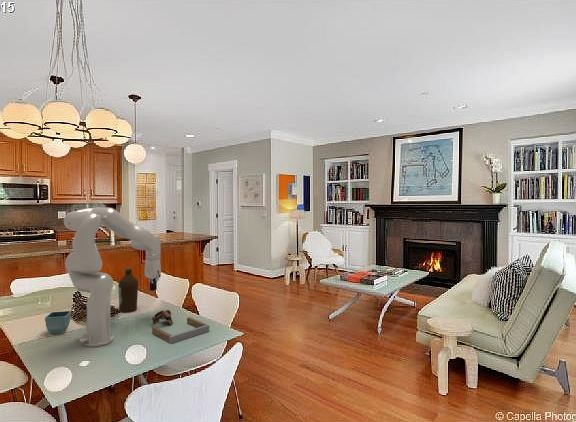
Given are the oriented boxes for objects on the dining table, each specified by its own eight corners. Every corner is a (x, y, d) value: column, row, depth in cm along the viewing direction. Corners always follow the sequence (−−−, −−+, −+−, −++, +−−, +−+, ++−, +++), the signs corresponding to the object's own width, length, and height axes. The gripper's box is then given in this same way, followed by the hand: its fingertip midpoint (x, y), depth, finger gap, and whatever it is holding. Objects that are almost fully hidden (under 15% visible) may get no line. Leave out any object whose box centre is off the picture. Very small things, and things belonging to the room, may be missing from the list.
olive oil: (137, 306, 210) (137, 265, 209) (138, 311, 200) (138, 269, 200) (118, 308, 205) (118, 266, 204) (118, 314, 196) (118, 270, 195)
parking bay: (170, 343, 157) (171, 337, 157) (151, 333, 169) (152, 327, 169) (209, 331, 173) (209, 325, 173) (189, 322, 185) (189, 317, 185)
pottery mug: (170, 328, 177) (161, 316, 175) (155, 335, 179) (146, 322, 177) (178, 315, 188) (171, 303, 186) (164, 321, 190) (156, 309, 188)
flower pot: (44, 336, 162) (44, 317, 162) (51, 329, 171) (51, 311, 170) (65, 335, 164) (65, 316, 164) (71, 328, 173) (71, 310, 173)
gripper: (140, 256, 191) (140, 288, 192) (153, 259, 181) (153, 294, 182) (152, 254, 197) (152, 286, 198) (166, 258, 187) (166, 291, 188)
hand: (153, 290), depth 190 cm, fingers closed
